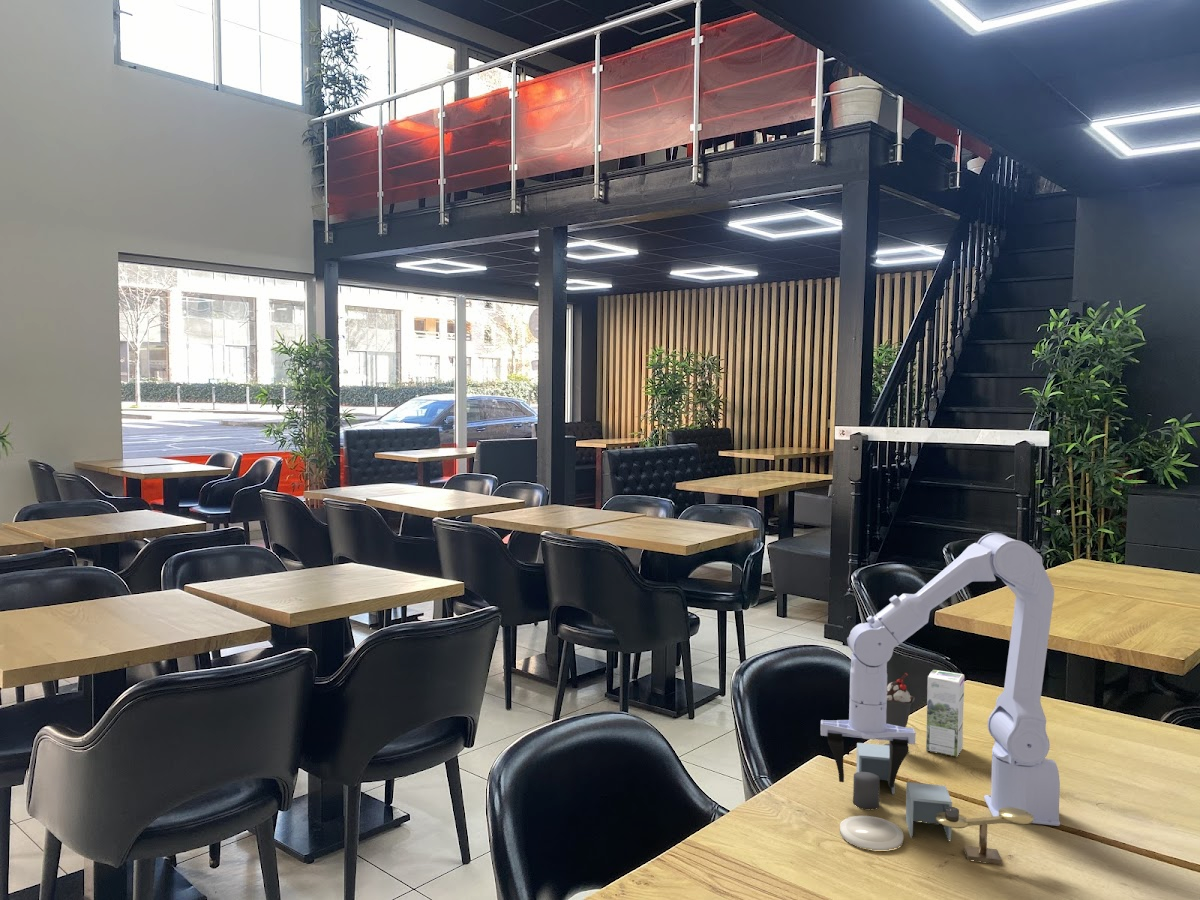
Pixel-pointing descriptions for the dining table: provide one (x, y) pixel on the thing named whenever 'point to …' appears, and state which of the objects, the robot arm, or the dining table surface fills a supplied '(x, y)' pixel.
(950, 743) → the syrup box
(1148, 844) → the dining table surface
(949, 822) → the balance
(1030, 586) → the robot arm
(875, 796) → the dark grey cylinder
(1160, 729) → the dining table surface
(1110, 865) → the dining table surface
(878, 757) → the cover
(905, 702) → the sundae
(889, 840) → the dish
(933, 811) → the cover
